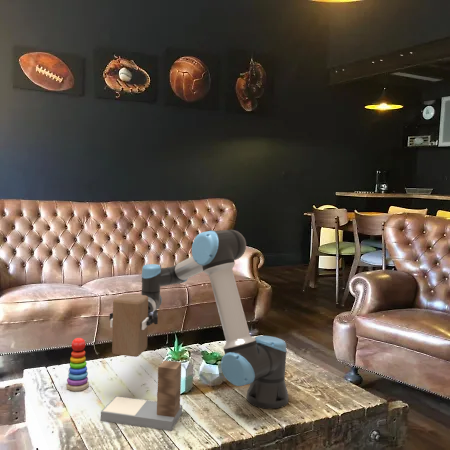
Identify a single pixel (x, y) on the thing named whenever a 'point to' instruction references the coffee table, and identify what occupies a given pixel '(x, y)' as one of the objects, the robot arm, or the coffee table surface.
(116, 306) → the block
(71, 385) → the stacking toy
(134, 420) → the foundation
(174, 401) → the walnut pillar
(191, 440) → the coffee table surface
